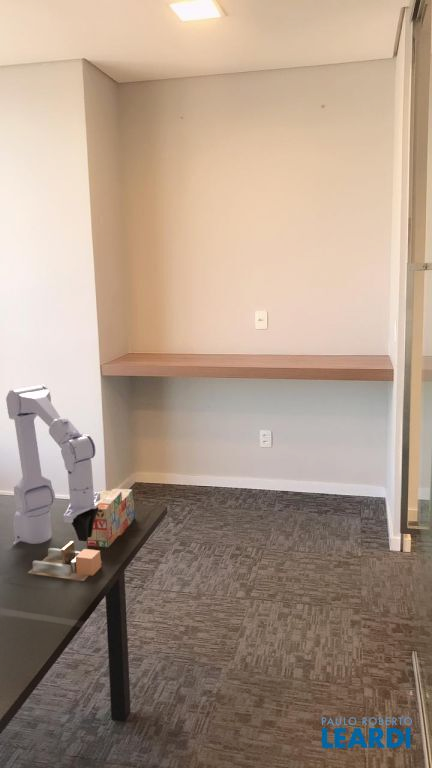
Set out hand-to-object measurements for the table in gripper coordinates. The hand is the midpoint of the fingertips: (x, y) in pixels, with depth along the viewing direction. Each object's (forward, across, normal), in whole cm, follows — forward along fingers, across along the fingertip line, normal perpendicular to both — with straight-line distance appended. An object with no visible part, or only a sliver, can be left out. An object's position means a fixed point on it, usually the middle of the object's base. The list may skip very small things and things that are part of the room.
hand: (85, 538), depth 155 cm
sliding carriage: (+8, 0, +4) cm, 9 cm away
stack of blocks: (+10, +23, +5) cm, 25 cm away
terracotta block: (+8, 0, 0) cm, 8 cm away
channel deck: (+9, 0, +6) cm, 11 cm away
